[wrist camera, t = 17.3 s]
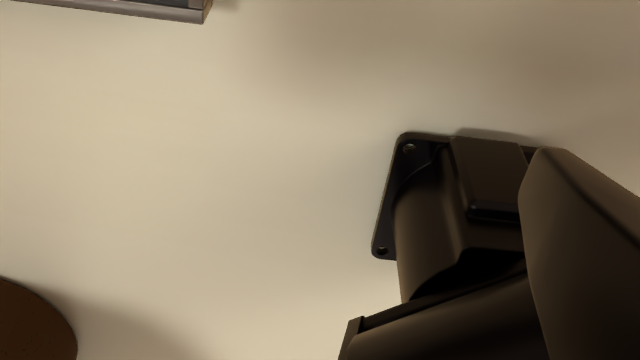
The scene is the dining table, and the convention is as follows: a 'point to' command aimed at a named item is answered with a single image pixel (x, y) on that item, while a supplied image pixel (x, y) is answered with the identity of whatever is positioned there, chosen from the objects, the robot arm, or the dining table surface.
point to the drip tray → (141, 8)
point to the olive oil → (32, 328)
